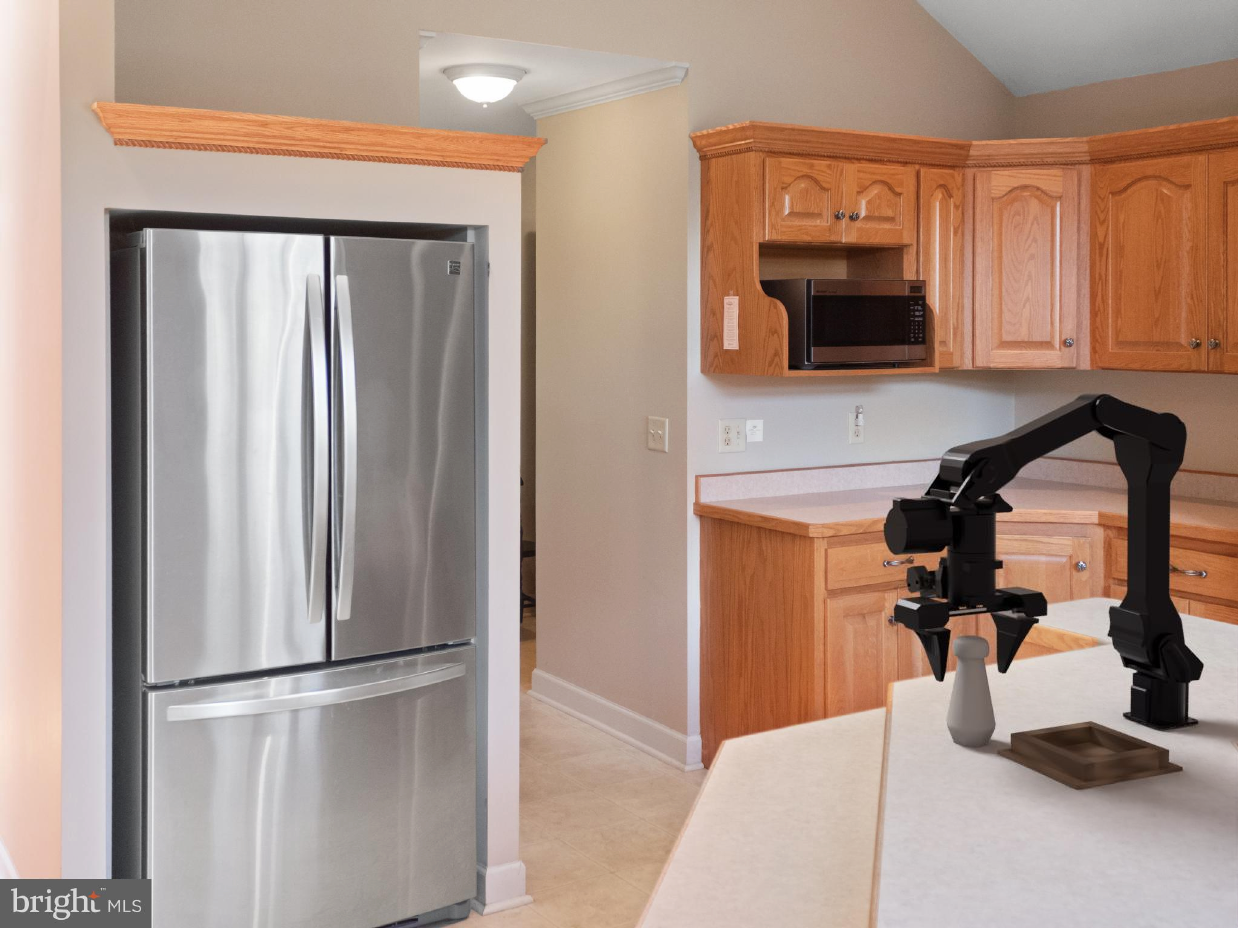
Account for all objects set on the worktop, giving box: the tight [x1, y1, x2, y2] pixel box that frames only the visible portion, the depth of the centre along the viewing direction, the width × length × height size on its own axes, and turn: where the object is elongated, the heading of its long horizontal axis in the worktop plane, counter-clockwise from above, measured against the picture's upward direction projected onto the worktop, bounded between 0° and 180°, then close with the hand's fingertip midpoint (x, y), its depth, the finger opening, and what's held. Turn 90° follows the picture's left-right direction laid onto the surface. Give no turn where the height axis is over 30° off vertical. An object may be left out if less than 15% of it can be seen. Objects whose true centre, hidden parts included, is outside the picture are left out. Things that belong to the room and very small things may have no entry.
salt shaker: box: [945, 634, 997, 748], centre depth 141 cm, size 6×6×13 cm
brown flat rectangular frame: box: [996, 720, 1184, 790], centre depth 133 cm, size 15×13×2 cm
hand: (971, 676), depth 140 cm, fingers open, 9 cm apart
